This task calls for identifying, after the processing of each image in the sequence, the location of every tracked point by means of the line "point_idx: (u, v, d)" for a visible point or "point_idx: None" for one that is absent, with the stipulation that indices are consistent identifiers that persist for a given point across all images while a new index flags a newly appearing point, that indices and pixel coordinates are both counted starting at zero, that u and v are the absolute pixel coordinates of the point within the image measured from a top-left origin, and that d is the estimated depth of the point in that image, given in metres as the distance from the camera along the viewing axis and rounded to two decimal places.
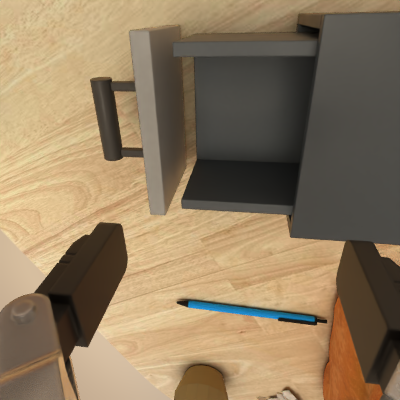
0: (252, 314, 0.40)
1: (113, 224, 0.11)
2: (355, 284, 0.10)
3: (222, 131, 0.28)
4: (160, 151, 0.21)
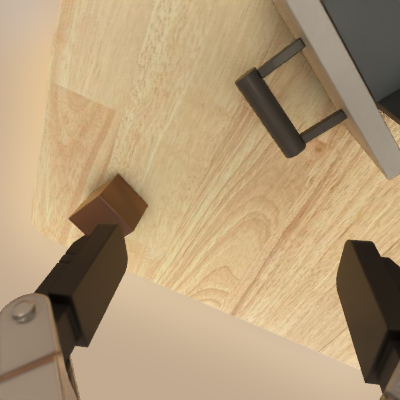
0: None
1: (113, 224, 0.11)
2: (355, 284, 0.10)
3: (393, 48, 0.21)
4: (368, 92, 0.16)
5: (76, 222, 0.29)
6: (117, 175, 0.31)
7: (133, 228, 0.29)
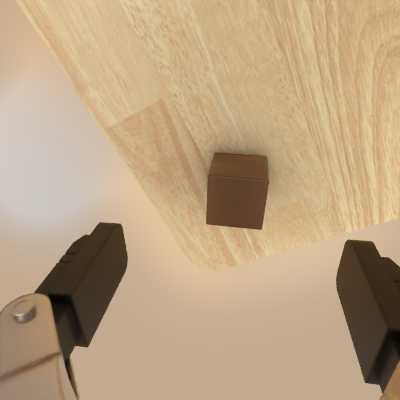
0: None
1: (113, 224, 0.11)
2: (355, 284, 0.10)
3: None
4: None
5: (215, 221, 0.26)
6: (215, 154, 0.27)
7: (266, 178, 0.23)
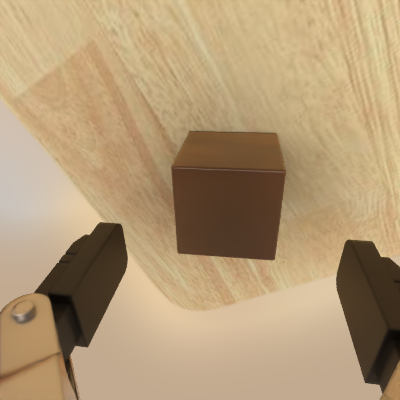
0: None
1: (113, 224, 0.11)
2: (355, 284, 0.10)
3: None
4: None
5: (193, 248, 0.15)
6: (190, 133, 0.16)
7: (281, 168, 0.12)
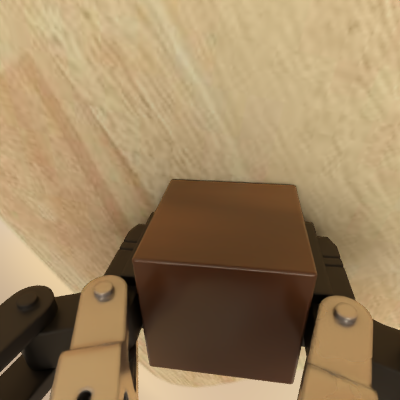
0: None
1: None
2: None
3: None
4: None
5: (171, 361, 0.10)
6: (171, 183, 0.11)
7: (309, 268, 0.07)
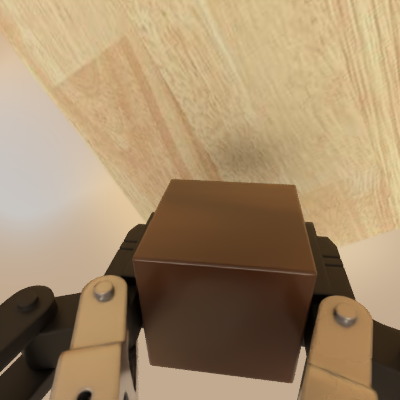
0: None
1: None
2: None
3: None
4: None
5: (171, 360, 0.10)
6: (171, 182, 0.11)
7: (309, 267, 0.07)
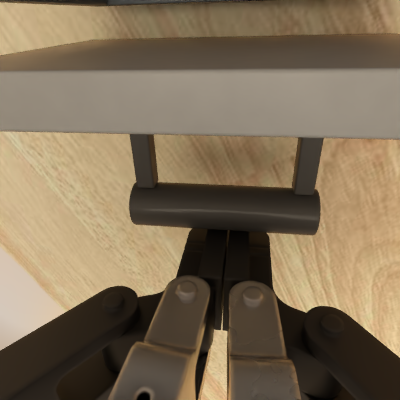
0: None
1: None
2: None
3: None
4: (271, 67, 0.05)
5: None
6: None
7: None
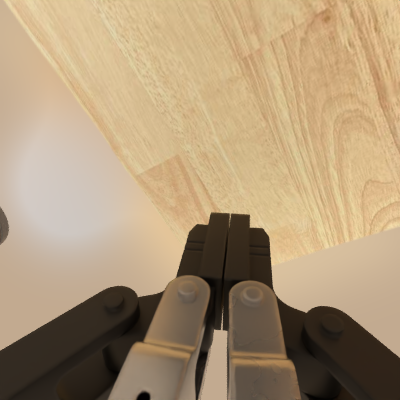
0: None
1: (225, 214, 0.12)
2: None
3: None
4: None
5: None
6: None
7: None
